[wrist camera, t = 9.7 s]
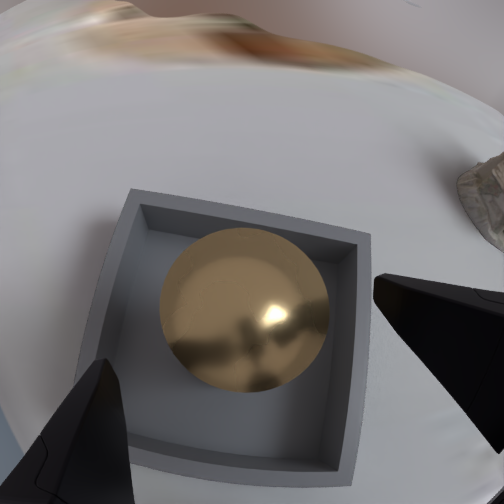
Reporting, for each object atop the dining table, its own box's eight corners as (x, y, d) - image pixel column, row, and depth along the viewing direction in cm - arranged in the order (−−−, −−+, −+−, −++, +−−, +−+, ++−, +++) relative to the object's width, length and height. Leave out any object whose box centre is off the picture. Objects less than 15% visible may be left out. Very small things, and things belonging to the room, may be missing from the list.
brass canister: (262, 393, 18) (321, 401, 8) (180, 379, 18) (143, 373, 8) (273, 315, 20) (333, 244, 11) (195, 301, 20) (181, 215, 10)
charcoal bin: (324, 469, 17) (351, 485, 13) (93, 431, 16) (65, 440, 12) (345, 259, 24) (370, 233, 20) (142, 222, 23) (130, 188, 19)
